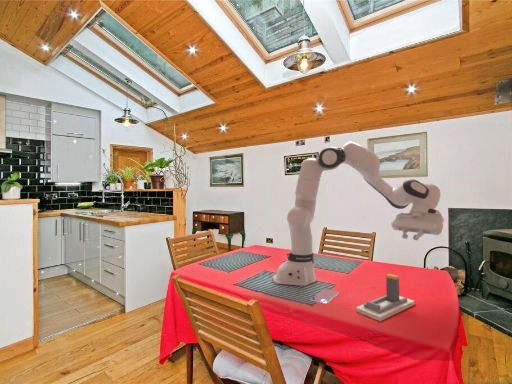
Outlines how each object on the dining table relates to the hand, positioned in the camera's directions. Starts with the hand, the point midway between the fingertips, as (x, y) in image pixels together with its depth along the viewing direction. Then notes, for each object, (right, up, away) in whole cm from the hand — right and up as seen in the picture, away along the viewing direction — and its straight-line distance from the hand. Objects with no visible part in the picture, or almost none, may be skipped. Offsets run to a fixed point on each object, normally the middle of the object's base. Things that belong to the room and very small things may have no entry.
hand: (409, 238), depth 119 cm
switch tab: (-11, -24, -7) cm, 27 cm away
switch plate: (-15, -26, -10) cm, 31 cm away
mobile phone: (-36, -27, +3) cm, 45 cm away
